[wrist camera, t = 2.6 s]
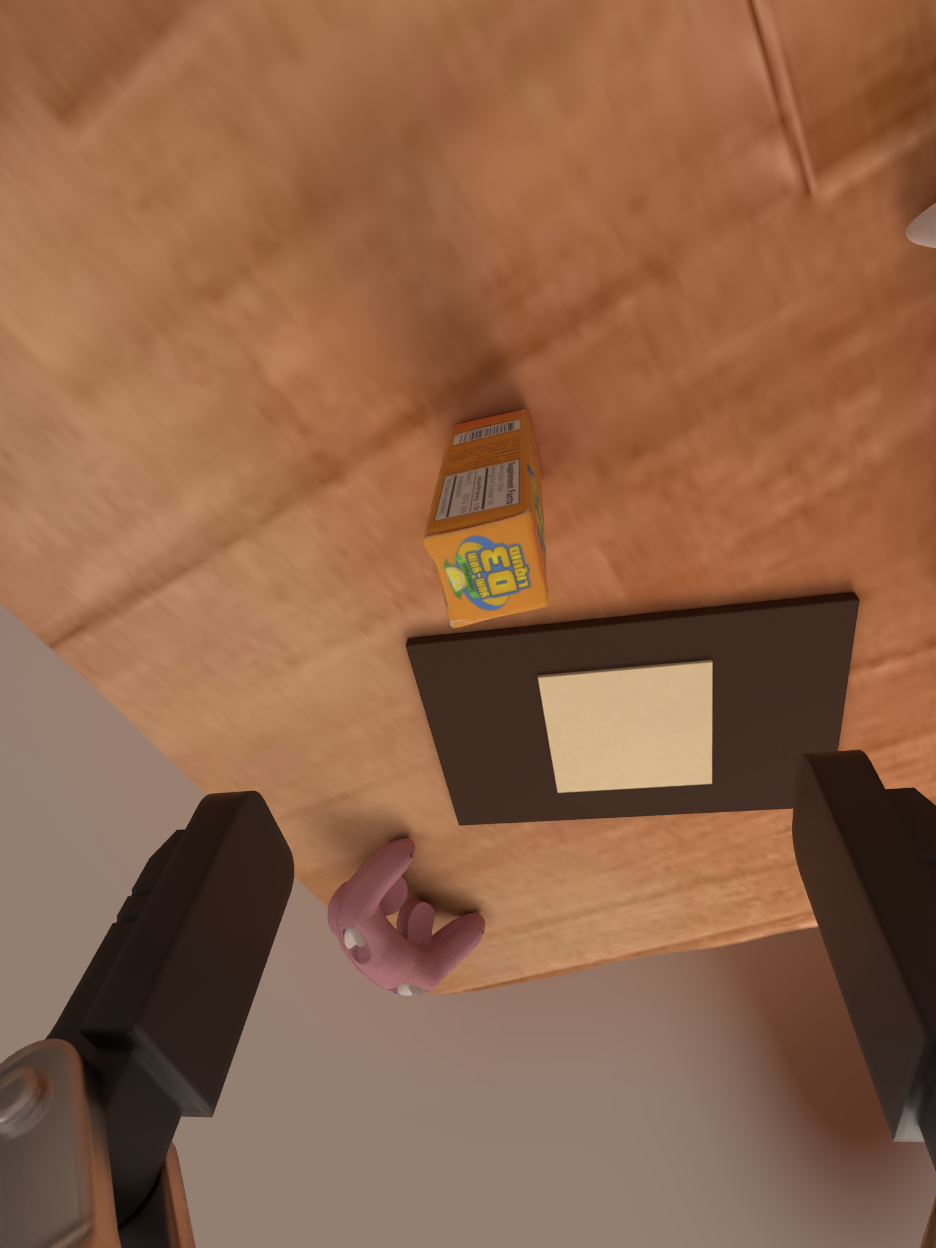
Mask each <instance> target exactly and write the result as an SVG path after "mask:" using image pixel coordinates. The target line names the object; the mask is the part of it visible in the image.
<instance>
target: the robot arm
mask: <svg viewBox="0 0 936 1248" xmlns="http://www.w3.org/2000/svg"><path fill="white" fill-rule="evenodd" d="M792 836H793V845H794V851H795V856H796V861H797V865H798V868H799V872H800V875H801V878H802V880H803V883H804V886H805V889H806V892H807V895H808V898H809V900H810V903H811V906H812V909H813V912H814V915H815V918H816V921H817V923H818V926H819V929H820V932H821V935H822V938H823V940H824V943H825V946H826V949H827V952H828V955H829V958H830V960H831V963H832V966H833V969H834V972H835V975H836V978H837V980H838V983H839V986H840V989H841V992H842V995H843V998H844V1001H845V1004H846V1006H847V1009H848V1012H849V1015H850V1018H851V1021H852V1024H853V1026H854V1029H855V1032H856V1035H857V1038H858V1041H859V1044H860V1047H861V1050H862V1052H863V1055H864V1058H865V1061H866V1064H867V1067H868V1069H869V1072H870V1075H871V1078H872V1081H873V1084H874V1087H875V1090H876V1092H877V1095H878V1098H879V1101H880V1104H881V1107H882V1109H883V1112H884V1115H885V1118H886V1121H887V1124H888V1127H889V1130H890V1132H891V1136H892V1138H893V1141H911V1142H925V1144H926V1146H927V1149H928V1151H929V1154H930V1157H931V1160H932V1162H933V1165H934V1167H935V1170H936V806H935V805H934V804H933V803H932V802H931V801H929V800H928V799H927V798H926V797H925V796H923V795H922V794H921V793H920V792H919V791H918V790H916V789H915V788H899V789H885V788H884V786H883V784H882V782H881V780H880V778H879V776H878V774H877V773H876V771H875V769H874V767H873V765H872V763H871V761H870V760H869V758H868V756H867V755H866V754H865V753H864V752H863V751H861V750H849V751H835V752H821V753H807V754H801V755H800V756H799V758H798V763H797V774H796V786H795V798H794V810H793V822H792ZM293 880H294V861H293V856H292V853H291V850H290V848H289V846H288V844H287V842H286V840H285V838H284V836H283V835H282V833H281V831H280V829H279V827H278V825H277V823H276V821H275V819H274V818H273V816H272V814H271V812H270V810H269V808H268V806H267V804H266V802H265V800H264V799H263V797H262V796H261V795H260V793H258V792H257V791H243V792H228V793H214V794H209V795H207V796H205V797H204V798H203V799H202V800H201V802H200V803H199V805H198V807H197V809H196V811H195V812H194V814H193V816H192V818H191V820H190V822H189V824H188V825H187V827H186V829H185V830H176V832H174V834H173V835H172V836H171V837H170V838H169V839H168V840H167V841H166V842H165V843H164V844H163V845H162V846H161V847H160V848H159V849H158V850H157V851H156V852H155V853H154V854H153V855H152V856H151V857H150V859H149V860H148V862H147V864H146V866H145V867H144V869H143V871H142V873H141V874H140V876H139V878H138V880H137V882H136V884H135V885H134V887H133V889H132V895H131V896H128V897H127V899H126V901H125V903H124V905H123V906H122V908H121V910H120V912H119V913H118V915H117V922H116V923H113V924H112V926H111V927H110V929H109V931H108V933H107V935H106V936H105V938H104V940H103V941H102V943H101V945H100V947H99V949H98V950H97V952H96V954H95V956H94V957H93V959H92V961H91V963H90V965H89V966H88V968H87V970H86V972H85V973H84V975H83V977H82V979H81V981H80V982H79V984H78V986H77V987H76V989H75V991H74V993H73V995H72V996H71V998H70V1000H69V1002H68V1003H67V1005H66V1007H65V1009H64V1010H63V1012H62V1014H61V1016H60V1017H59V1019H58V1021H57V1023H56V1025H55V1026H54V1028H53V1029H52V1031H51V1032H50V1034H49V1035H48V1036H47V1038H46V1039H45V1040H41V1041H38V1042H35V1043H32V1044H30V1045H28V1046H26V1047H24V1048H22V1049H20V1050H18V1051H17V1052H15V1053H14V1054H12V1055H11V1056H10V1057H8V1058H7V1059H6V1060H4V1062H2V1063H1V1064H0V1248H196V1247H195V1242H194V1237H193V1232H192V1226H191V1221H190V1216H189V1211H188V1206H187V1200H186V1195H185V1190H184V1185H183V1180H182V1175H181V1169H180V1165H179V1159H178V1154H177V1151H176V1147H175V1146H174V1144H173V1142H172V1139H173V1136H174V1133H175V1130H176V1128H177V1126H178V1123H179V1120H180V1118H181V1116H186V1117H213V1114H214V1111H215V1108H216V1105H217V1102H218V1099H219V1097H220V1094H221V1091H222V1088H223V1085H224V1082H225V1079H226V1077H227V1073H228V1071H229V1068H230V1065H231V1062H232V1059H233V1056H234V1054H235V1051H236V1048H237V1045H238V1042H239V1039H240V1036H241V1034H242V1031H243V1027H244V1025H245V1022H246V1019H247V1016H248V1013H249V1011H250V1008H251V1005H252V1002H253V999H254V996H255V993H256V991H257V988H258V985H259V982H260V979H261V976H262V973H263V970H264V968H265V965H266V962H267V959H268V956H269V953H270V950H271V948H272V945H273V942H274V939H275V936H276V933H277V930H278V928H279V925H280V922H281V919H282V916H283V913H284V910H285V907H286V905H287V901H288V899H289V896H290V893H291V890H292V886H293ZM920 1248H936V1198H935V1201H934V1204H933V1207H932V1210H931V1214H930V1218H929V1220H928V1223H927V1227H926V1230H925V1233H924V1236H923V1240H922V1243H921V1246H920Z"/></svg>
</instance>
